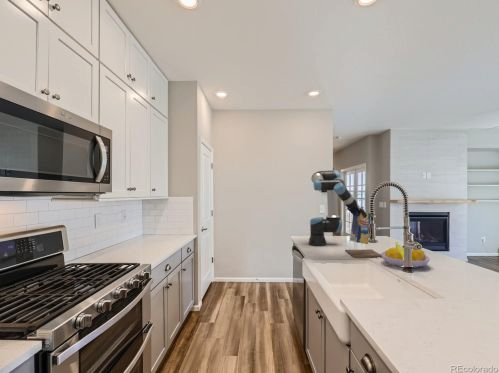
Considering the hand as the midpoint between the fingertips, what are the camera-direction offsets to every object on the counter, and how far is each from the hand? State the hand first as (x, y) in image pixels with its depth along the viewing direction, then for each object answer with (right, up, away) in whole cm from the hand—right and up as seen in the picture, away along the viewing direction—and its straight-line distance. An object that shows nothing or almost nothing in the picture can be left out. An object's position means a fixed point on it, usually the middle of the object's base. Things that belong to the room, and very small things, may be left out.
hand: (366, 222), depth 193 cm
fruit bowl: (+11, -22, -29) cm, 38 cm away
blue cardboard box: (-7, -14, -4) cm, 16 cm away
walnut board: (-3, -23, -2) cm, 23 cm away
